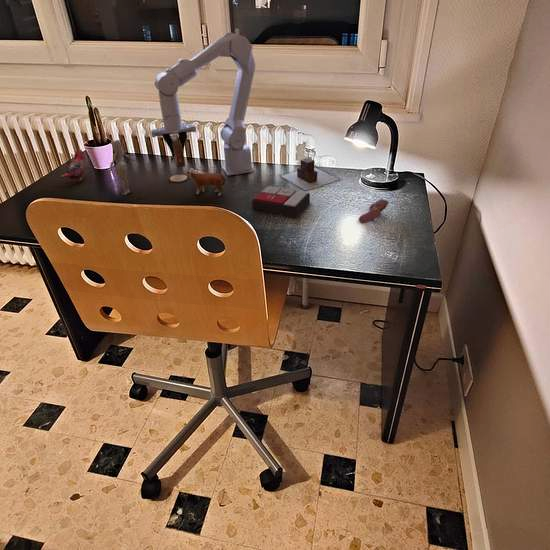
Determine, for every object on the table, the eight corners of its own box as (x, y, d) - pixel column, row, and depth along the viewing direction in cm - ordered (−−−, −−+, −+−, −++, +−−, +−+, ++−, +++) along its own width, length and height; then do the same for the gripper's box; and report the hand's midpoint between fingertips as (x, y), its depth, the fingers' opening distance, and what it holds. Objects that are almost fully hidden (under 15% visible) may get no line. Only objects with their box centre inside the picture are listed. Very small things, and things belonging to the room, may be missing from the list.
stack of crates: (339, 179, 148) (341, 160, 144) (305, 190, 141) (306, 171, 137) (313, 166, 158) (313, 148, 154) (280, 175, 151) (280, 157, 147)
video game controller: (368, 230, 122) (382, 214, 117) (356, 220, 123) (369, 204, 118) (381, 216, 129) (394, 200, 124) (369, 207, 129) (381, 191, 124)
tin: (186, 170, 139) (184, 145, 134) (176, 171, 138) (174, 145, 134) (179, 154, 151) (177, 131, 146) (170, 155, 150) (168, 131, 145)
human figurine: (135, 185, 146) (123, 133, 135) (143, 187, 144) (132, 135, 134) (110, 200, 137) (96, 145, 126) (119, 202, 136) (105, 147, 125)
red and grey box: (267, 184, 136) (310, 190, 131) (268, 196, 139) (310, 203, 133) (251, 198, 129) (295, 205, 123) (252, 210, 131) (296, 218, 125)
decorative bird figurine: (93, 173, 155) (85, 146, 149) (69, 194, 141) (60, 166, 135) (85, 173, 155) (77, 146, 149) (61, 194, 141) (51, 165, 135)
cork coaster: (185, 174, 153) (185, 173, 153) (188, 180, 149) (188, 179, 148) (169, 177, 152) (168, 175, 151) (171, 183, 147) (171, 182, 147)
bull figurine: (191, 188, 144) (188, 165, 139) (227, 192, 141) (225, 169, 136) (185, 193, 140) (182, 170, 136) (222, 198, 137) (220, 174, 132)
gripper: (149, 120, 130) (157, 162, 138) (195, 114, 134) (201, 156, 142) (147, 114, 136) (155, 155, 144) (191, 109, 139) (197, 149, 147)
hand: (177, 155), depth 143 cm, fingers closed on tin, 2 cm apart
